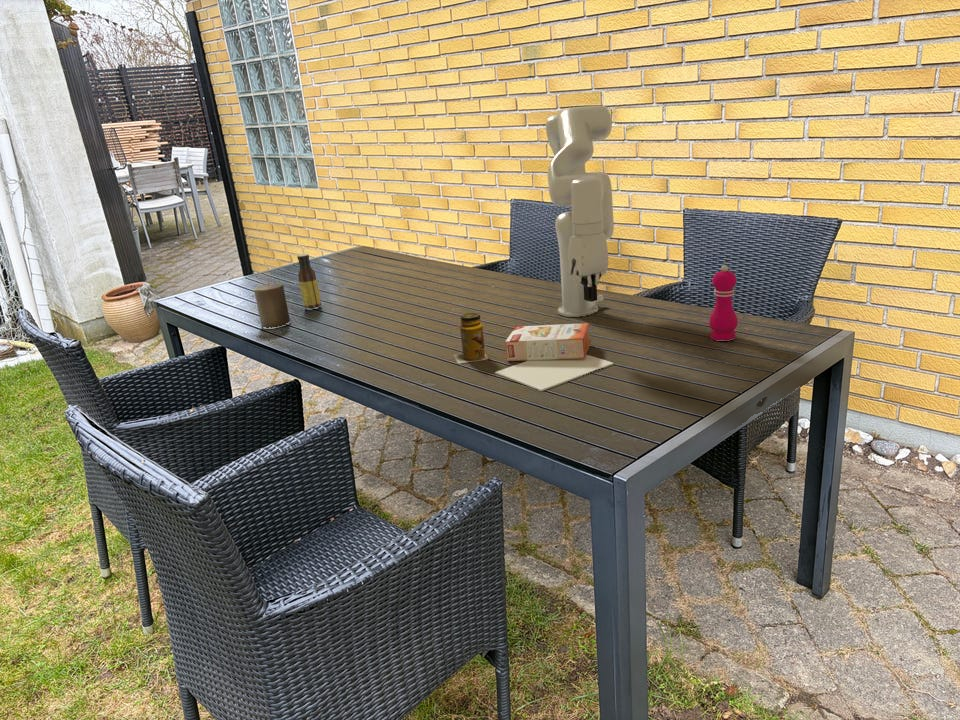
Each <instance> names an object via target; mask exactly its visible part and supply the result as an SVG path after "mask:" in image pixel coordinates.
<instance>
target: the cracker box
mask: <svg viewBox="0 0 960 720" xmlns="http://www.w3.org/2000/svg"><path fill="white" fill-rule="evenodd" d="M591 339H592V338H591V325H590V322H589V323H588V322H585V323H584V322H583V323H582V322H581V323H563V324H546V325H545V324H542V325H523V326H521V325H520V326H519V325H518V326H515V327H514V329H513V330H512V331H511V333H510V335H509V336H508V337H507V338H506V340H505V342H504V345H505V352H506V360H507V362H516V361H517V362H518V361H519V362H520V361H524V362H525V361H529V360H551V359H577V358H585V357H586V355H588V354H587V353H588V350H589V349H590V345H591V342H592V340H591Z"/></svg>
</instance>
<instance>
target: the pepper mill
mask: <svg viewBox="0 0 960 720" xmlns="http://www.w3.org/2000/svg"><path fill="white" fill-rule="evenodd" d="M720 267H721V268H720V271H717V272H716V273H715V274H714V275H713V277H712V281H711V282H712V285H713V287H714V289H713V290H714V291H713V292H714V293H713V295H714V296H715V306H714V308H713V311H712V313H711V315H710V317H709V322H708V325H709V328H710V329H711V330H712V331H711V332H710V339H711V338H712V339H715V340H730V339H733V338H735V339H736V331H735V330H736V328H737V327H738V325H739V321H738V317H737V314H736V312H735V310H734V307H733V296H735V289H734V287H736V284H737V277H736V274H735V273H734V272H732V271H730V270H729V267H728V265H727V264H723V265H722V266H720ZM712 339H711V340H712Z"/></svg>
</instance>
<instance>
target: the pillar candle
mask: <svg viewBox="0 0 960 720" xmlns="http://www.w3.org/2000/svg"><path fill="white" fill-rule="evenodd" d="M253 290H254V295H255V296H254V297H255V301H256V307H257V311H258V316H259V322H260V326H261V328H262V327H266V328H269V327H271V328H272V327H278V326H282V325H284V324H286V323H288V322H289V321H290V322H291V319H290V313H289V307H288V305H287V304H288V303H287V298H286V294H285V287H284V283H281V282H275V283H274V282H273V283H269V282H267V283H266V284H262V285H259V286H256V287H254V288H253Z"/></svg>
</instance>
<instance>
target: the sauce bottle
mask: <svg viewBox="0 0 960 720" xmlns="http://www.w3.org/2000/svg"><path fill="white" fill-rule="evenodd" d="M296 257H297V261H298V263H299V271H298V274H297V275H298V282H299V287H300V292H301V297H302V302H303V303H302V304H303V306H304V309H305V308H315V307H319V306H321V305H322V300H321V299H322V298H321V295H320V289H319V284H318V279H317V277H316V276H317V275H316V272H315V270H314V269H313V268H312V266H311V262H310V255H309V253H301V254H298V255H297V256H296ZM321 307H322V306H321Z"/></svg>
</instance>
